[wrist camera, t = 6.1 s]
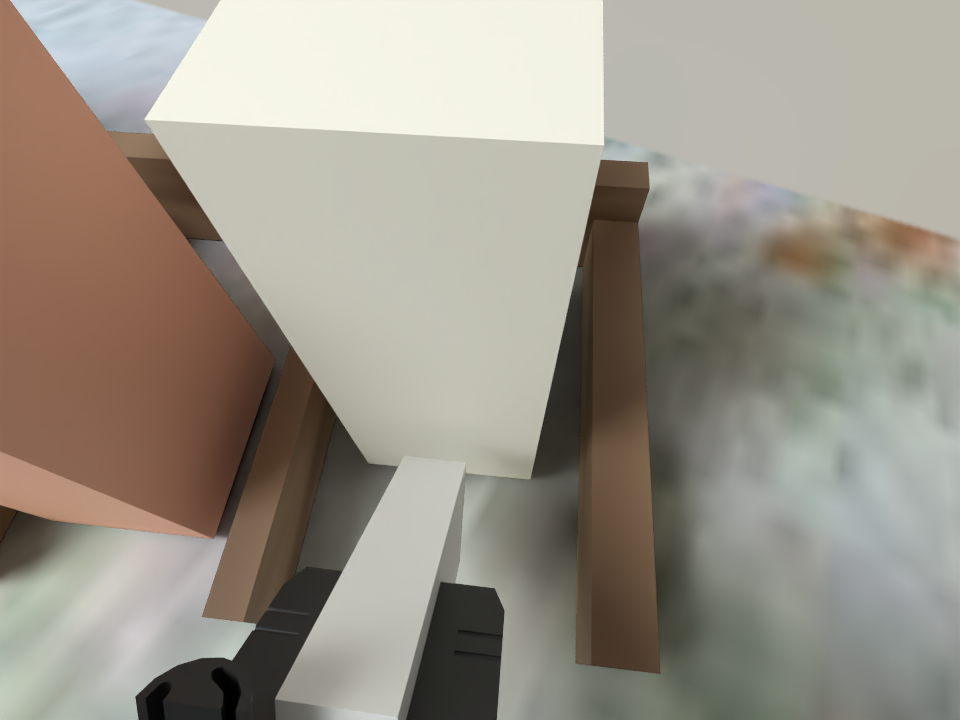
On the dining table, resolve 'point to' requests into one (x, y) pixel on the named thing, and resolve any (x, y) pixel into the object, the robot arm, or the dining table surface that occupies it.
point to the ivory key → (403, 201)
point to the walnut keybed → (602, 452)
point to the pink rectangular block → (107, 326)
